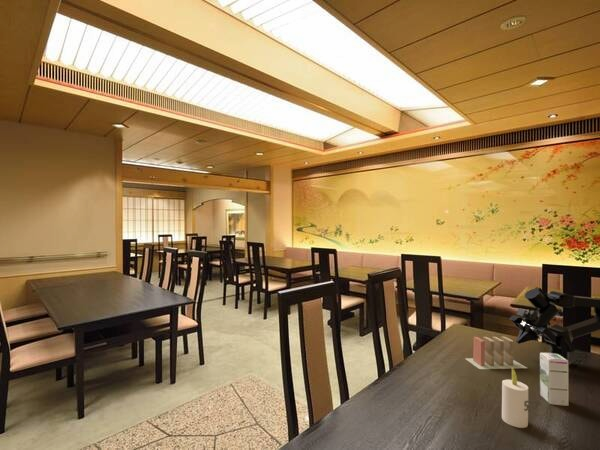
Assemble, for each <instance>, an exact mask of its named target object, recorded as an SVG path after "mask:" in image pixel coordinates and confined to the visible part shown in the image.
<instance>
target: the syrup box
mask: <svg viewBox="0 0 600 450" xmlns="http://www.w3.org/2000/svg"><path fill="white" fill-rule="evenodd" d="M568 361H569V359H568V360H566V359H565V358H563V357H562V356H560V355H559V354H555V353H551V352H539V395H540V396H541V397H542V398H543V400H545V402H546V403H548V404H550V405H556V406H565V407H566V406H567V407H569V366H568Z"/></svg>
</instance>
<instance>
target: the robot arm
mask: <svg viewBox="0 0 600 450" xmlns="http://www.w3.org/2000/svg"><path fill="white" fill-rule="evenodd" d="M524 298H525V299H526V300H527V301H528V302H529V303H530V304H531V305H532V306H533V308H535V309H536V310H534V309H533V310H530V311H529V310H527V309H524V308H521V307H519V308H518V310H517V312H516V314H515V315H511V316H510V317H509V320H510V322H511V323H513V325H514V326H515V327H516V328H517V329H519V332H518V335H517V338H516V343H517V344H523V343H526V342H529V341H533V340H534V341H535V340H537V339H538V340H540V339H541V336H542V338H543V339H544V342H545V345H549V346H550V353H555V354H559V355H560V356H562V357H563V358H565V359H566V360H568V367H569V366H571V364H572V361H570V360H569V356H570V355H569V354H570V353H573V352H575V349H576V345H574V343H573V340H574V339H576V338H578V337H582V336H585V335H588V334H591V333H594V332H597V331H600V297H590V296H589V297H588V296H580V295H579V296H578V295H571V294H567V293H563V292H559V291H555V290H552V291H549V293H545V292H544V290H543V289H542V288H541V287H537V286H536V287H535V288H532V289H530V290H527V291H526V292H525V294H524ZM558 307H561V308H564V309H566V308H567V309H568V308H574V307H584V308H593V312H594V313H595V315H594V317H591V318H589V319H586V320H584V321H580V322H577V323H574V324H570V325H568V326H562V325H559V324H553V325H552V323H551V320H553V319H554V318H555V316H558V317H563V316H564V315H563V312H562V309H561V308H558Z"/></svg>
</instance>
